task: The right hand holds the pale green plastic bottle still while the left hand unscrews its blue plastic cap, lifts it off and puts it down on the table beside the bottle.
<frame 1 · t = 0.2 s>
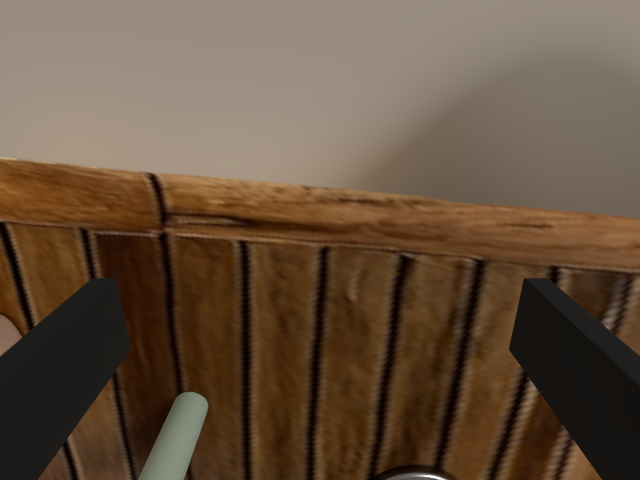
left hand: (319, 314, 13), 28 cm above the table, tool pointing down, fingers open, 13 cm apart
bottle: (191, 405, 50), on the table
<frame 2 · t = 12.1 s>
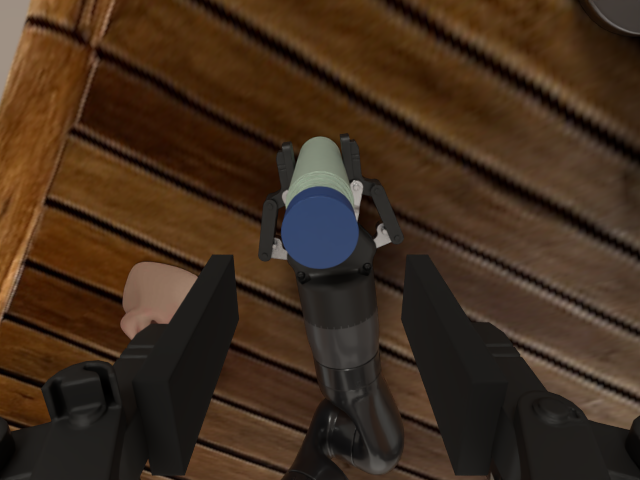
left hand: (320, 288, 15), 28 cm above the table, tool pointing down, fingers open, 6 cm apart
right hand: (315, 140, 34), fingers closed on bottle, 4 cm apart
cap: (320, 232, 20), point 22 cm above the table, screwed on, not yet turned
bottle: (319, 158, 41), on the table, touching right hand
anatomical model: (173, 310, 48), on the table
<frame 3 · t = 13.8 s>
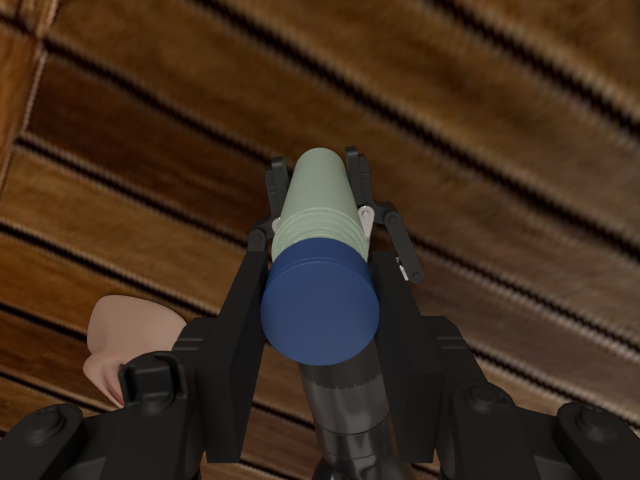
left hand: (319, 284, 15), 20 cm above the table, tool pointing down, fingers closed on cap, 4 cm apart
cap: (319, 311, 13), point 22 cm above the table, screwed on, not yet turned, touching left hand
bottle: (319, 173, 34), on the table, touching right hand
anatomical model: (147, 349, 40), on the table
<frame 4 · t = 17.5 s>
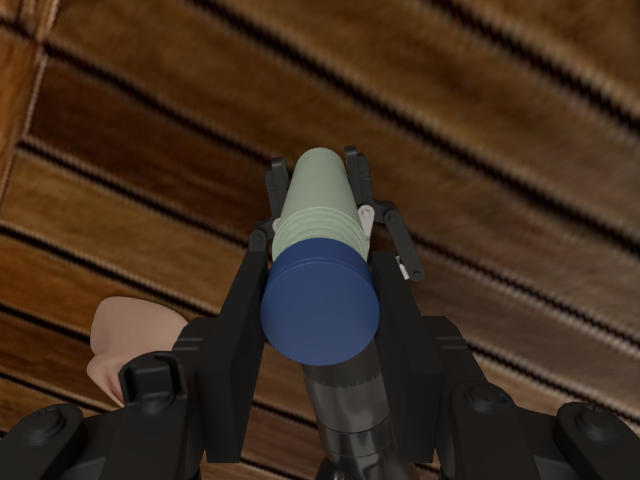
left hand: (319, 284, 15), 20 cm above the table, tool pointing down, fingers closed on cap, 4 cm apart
cap: (319, 312, 13), point 22 cm above the table, turned 136° so far, risen 0.1 cm, still on its thread, touching left hand
bottle: (320, 173, 34), on the table, touching right hand
anatomical model: (150, 350, 41), on the table
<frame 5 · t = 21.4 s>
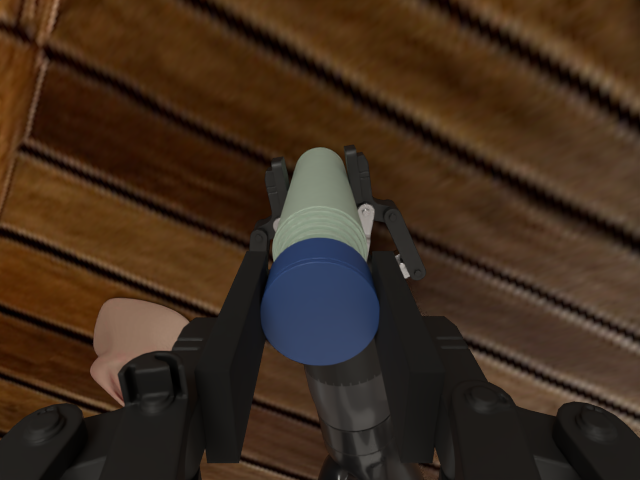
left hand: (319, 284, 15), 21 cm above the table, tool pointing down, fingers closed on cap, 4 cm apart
cap: (320, 312, 13), point 22 cm above the table, turned 273° so far, risen 0.2 cm, still on its thread, touching left hand
bottle: (320, 172, 34), on the table, touching right hand
anatomical model: (153, 351, 41), on the table
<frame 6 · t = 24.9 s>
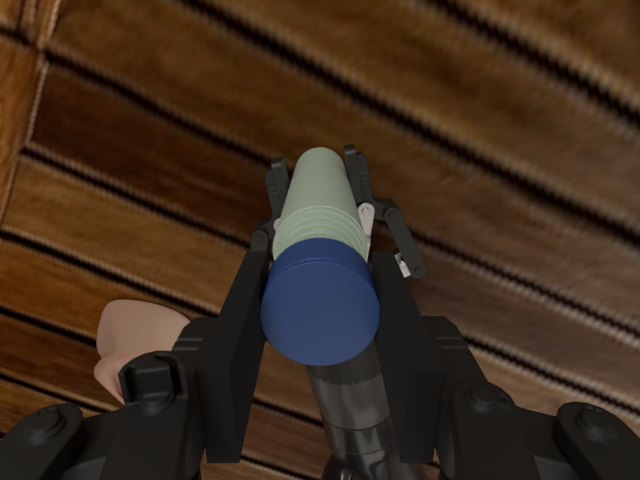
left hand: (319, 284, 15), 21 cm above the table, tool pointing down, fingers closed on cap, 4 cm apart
cap: (320, 312, 13), point 23 cm above the table, turned 409° so far, risen 0.3 cm, still on its thread, touching left hand
bottle: (320, 172, 34), on the table, touching right hand
anatomical model: (156, 352, 41), on the table
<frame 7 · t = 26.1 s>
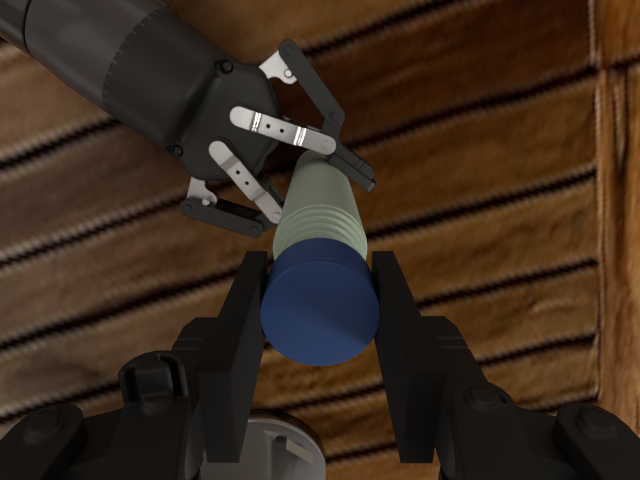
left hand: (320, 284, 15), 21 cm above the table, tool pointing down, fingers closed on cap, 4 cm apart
right hand: (350, 212, 28), fingers closed on bottle, 4 cm apart
cap: (319, 312, 13), point 23 cm above the table, off its thread, touching left hand
bottle: (319, 171, 34), on the table, touching right hand
when the left hand's fingers open (1 cm above the table, at t = 31.2 s): cap drops 2 cm, point 2 cm above the table.
when the right hand's fingers open (7 cm above the table, at t = 32.4 s): bottle stays where it is, on the table.
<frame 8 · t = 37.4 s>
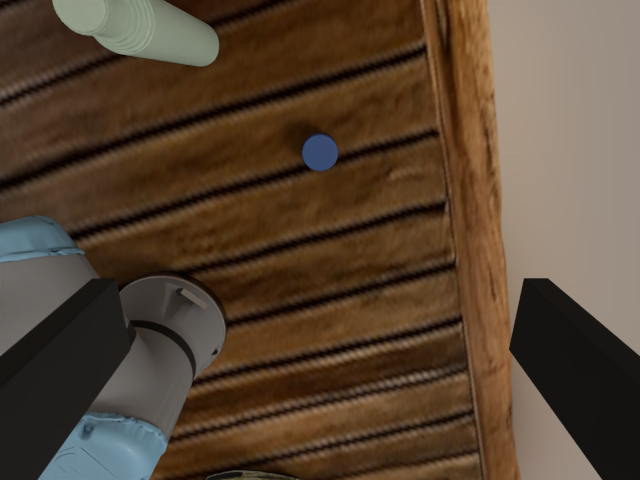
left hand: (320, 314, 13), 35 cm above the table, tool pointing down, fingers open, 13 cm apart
cap: (320, 152, 44), point 2 cm above the table, off its thread
bottle: (198, 44, 41), on the table
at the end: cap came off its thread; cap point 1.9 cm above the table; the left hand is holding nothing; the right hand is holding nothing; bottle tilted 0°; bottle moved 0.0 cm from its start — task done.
